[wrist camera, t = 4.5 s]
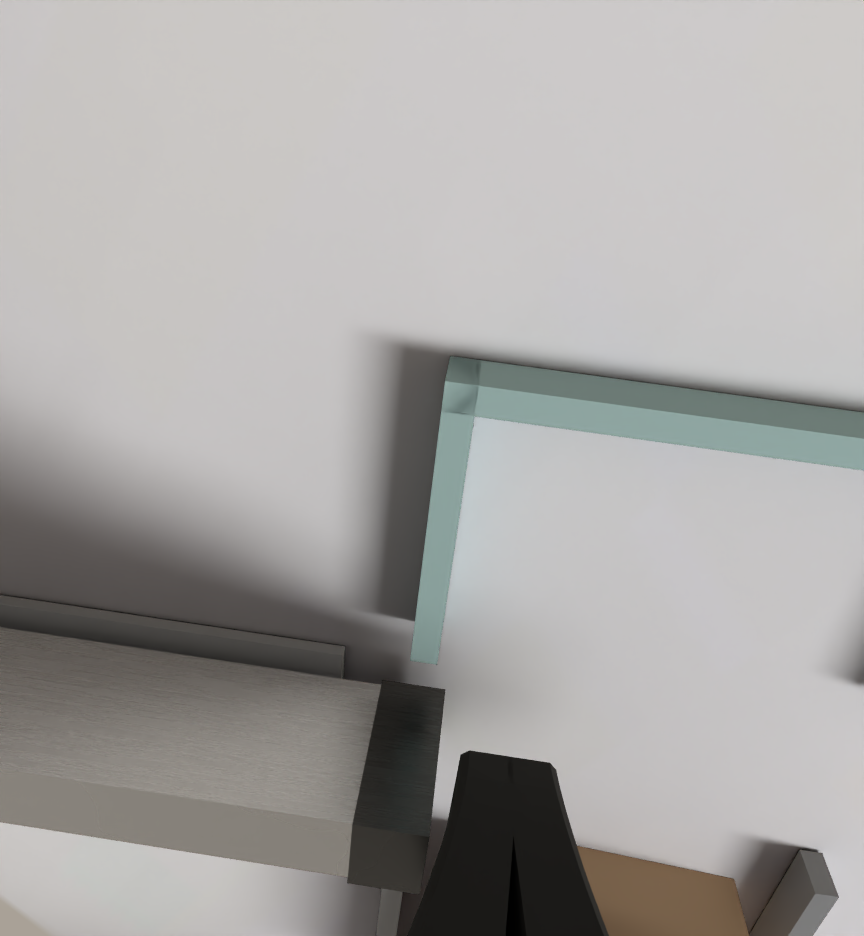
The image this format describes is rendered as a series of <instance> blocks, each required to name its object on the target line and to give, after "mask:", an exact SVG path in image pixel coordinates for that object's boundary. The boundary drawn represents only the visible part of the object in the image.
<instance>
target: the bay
mask: <svg viewBox="0 0 864 936" xmlns="http://www.w3.org/2000/svg"><path fill="white" fill-rule="evenodd" d="M474 416H475V417H482V418H489V419H497V420H504V421H511V422H518V423H525V424H533V425H540V426H547V427H554V428H561V429H569V430H576V431H583V432H590V433H597V434H605V435H612V436H619V437H626V438H633V439H641V440H648V441H655V442H662V443H669V444H677V445H684V446H691V447H698V448H705V449H713V450H720V451H727V452H734V453H741V454H749V455H756V456H763V457H770V458H777V459H785V460H792V461H799V462H806V463H814V464H821V465H828V466H835V467H842V468H850V469H857V470H864V412H856V411H849V410H842V409H834V408H827V407H820V406H812V405H805V404H798V403H790V402H783V401H776V400H768V399H761V398H754V397H746V396H739V395H732V394H724V393H717V392H710V391H702V390H695V389H688V388H680V387H673V386H666V385H658V384H651V383H644V382H636V381H629V380H622V379H614V378H607V377H600V376H592V375H585V374H578V373H570V372H563V371H556V370H548V369H541V368H534V367H526V366H519V365H512V364H504V363H497V362H490V361H482V360H475V359H468V358H460V357H453V356H450V360H449V364H448V369H447V374H446V379H445V385H444V393H443V401H442V409H441V417H440V426H439V434H438V442H437V450H436V458H435V466H434V474H433V482H432V490H431V498H430V506H429V514H428V522H427V530H426V538H425V546H424V554H423V562H422V570H421V578H420V586H419V594H418V602H417V610H416V618H415V626H414V634H413V642H412V650H411V658H410V661H415V662H422V663H429V664H435V665H437V661H438V655H439V648H440V642H441V635H442V628H443V622H444V615H445V608H446V602H447V595H448V588H449V582H450V575H451V568H452V562H453V555H454V549H455V542H456V535H457V529H458V522H459V515H460V509H461V502H462V495H463V489H464V482H465V475H466V469H467V462H468V456H469V449H470V442H471V436H472V429H473V422H474Z"/></svg>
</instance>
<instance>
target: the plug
mask: <svg viewBox="0 0 864 936" xmlns="http://www.w3.org/2000/svg"><path fill="white" fill-rule="evenodd" d="M577 848H578V851H579V854H580V857H581V860H582V864H583V867H584V869H585V872H586V875H587V878H588V881H589V884H590V887H591V889H592V892H593V895H594V897H595V900H596V903H597V905H598V908H599V911H600V913H601V916H602V919H603V921H604V924H605V926H606V929H607V932H608V934H609V936H749V933H748V930H747V926H746V922H745V918H744V915H743V911H742V907H741V903H740V900H739V896H738V892H737V888H736V884H735V881H734V879H732V878H727V877H722V876H718V875H713V874H708V873H703V872H699V871H694V870H689V869H684V868H680V867H675V866H670V865H665V864H661V863H656V862H651V861H646V860H642V859H637V858H632V857H627V856H623V855H618V854H613V853H609V852H604V851H599V850H594V849H590V848H585V847H580V846H577Z"/></svg>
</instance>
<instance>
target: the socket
mask: <svg viewBox="0 0 864 936" xmlns="http://www.w3.org/2000/svg"><path fill="white" fill-rule="evenodd" d="M0 627H2V628H8V629H15V630H22V631H28V632H35V633H41V634H48V635H55V636H61V637H68V638H75V639H81V640H88V641H95V642H101V643H108V644H115V645H121V646H128V647H134V648H141V649H148V650H154V651H161V652H168V653H174V654H181V655H188V656H194V657H201V658H208V659H214V660H221V661H227V662H234V663H241V664H247V665H254V666H261V667H267V668H274V669H281V670H287V671H294V672H301V673H307V674H314V675H320V676H327V677H334V678H340V679H343V672H344V656H345V646H338V645H332V644H325V643H318V642H312V641H305V640H298V639H292V638H285V637H278V636H271V635H265V634H258V633H251V632H245V631H238V630H231V629H224V628H218V627H211V626H204V625H198V624H191V623H184V622H178V621H171V620H164V619H157V618H151V617H144V616H137V615H131V614H124V613H117V612H111V611H104V610H97V609H90V608H84V607H77V606H70V605H64V604H57V603H50V602H44V601H37V600H30V599H23V598H17V597H10V596H3V595H0ZM402 894H403V892H401V891H395V890H388V889H382V890H381V898H380V906H379V914H378V922H377V930H376V936H396V934H397V927H398V921H399V914H400V907H401V901H402ZM838 898H839V896H838V894H837V891H836V888H835V886H834V883H833V880H832V878H831V875H830V873H829V870H828V867H827V865H826V862H825V859H824V857H823V854H822V853H818V852H811V851H805V850H799V852H798V854H797V855H796V857H795V859H794V860H793V862H792V864H791V866H790V867H789V869H788V871H787V872H786V874H785V876H784V877H783V879H782V881H781V882H780V884H779V886H778V887H777V889H776V891H775V892H774V894H773V896H772V897H771V899H770V901H769V902H768V904H767V906H766V907H765V909H764V911H763V912H762V914H761V916H760V918H759V919H758V921H757V923H756V924H755V926H754V928H753V929H752V931H751V933H750V934H749V936H813V935H814V933H815V932H816V930H817V929H818V927H819V926H820V924H821V923H822V921H823V920H824V918H825V917H826V915H827V914H828V913H829V911H830V910H831V908H832V907H833V905H834V904H835V902H836V901H837V899H838Z"/></svg>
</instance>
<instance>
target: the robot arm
mask: <svg viewBox="0 0 864 936" xmlns="http://www.w3.org/2000/svg"><path fill="white" fill-rule="evenodd" d="M407 936H609V934H608V932H607V929H606V926H605V924H604V921H603V919H602V916H601V913H600V911H599V908H598V905H597V903H596V900H595V897H594V895H593V892H592V889H591V887H590V884H589V881H588V878H587V875H586V872H585V869H584V867H583V864H582V860H581V857H580V854H579V851H578V848H577V845H576V842H575V839H574V836H573V833H572V829H571V826H570V823H569V819H568V816H567V812H566V809H565V805H564V801H563V798H562V794H561V790H560V786H559V782H558V777H557V773H556V769H555V768H554V767H553V766H552V765H551V764H550V763H547V762H541V761H534V760H528V759H521V758H515V757H508V756H501V755H495V754H488V753H482V752H475V751H468V752H466V753H463V754H461V756H460V761H459V766H458V771H457V777H456V782H455V787H454V792H453V797H452V803H451V808H450V813H449V818H448V823H447V828H446V831H445V835H444V838H443V842H442V845H441V848H440V851H439V853H438V856H437V859H436V862H435V865H434V868H433V870H432V873H431V876H430V879H429V882H428V885H427V887H426V890H425V893H424V896H423V898H422V901H421V904H420V906H419V909H418V911H417V914H416V916H415V918H414V921H413V923H412V925H411V928H410V930H409V933H408V935H407Z"/></svg>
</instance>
